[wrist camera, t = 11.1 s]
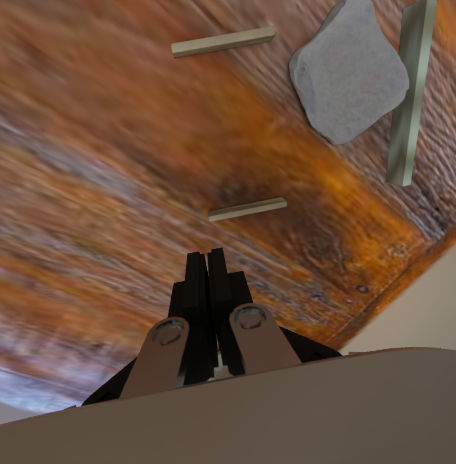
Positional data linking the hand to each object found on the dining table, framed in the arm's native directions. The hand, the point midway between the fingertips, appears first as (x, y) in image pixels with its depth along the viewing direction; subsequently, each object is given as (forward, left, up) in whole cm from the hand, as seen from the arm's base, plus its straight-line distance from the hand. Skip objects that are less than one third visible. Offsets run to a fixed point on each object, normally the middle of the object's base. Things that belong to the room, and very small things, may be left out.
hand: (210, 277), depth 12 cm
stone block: (+8, -17, -21) cm, 28 cm away
